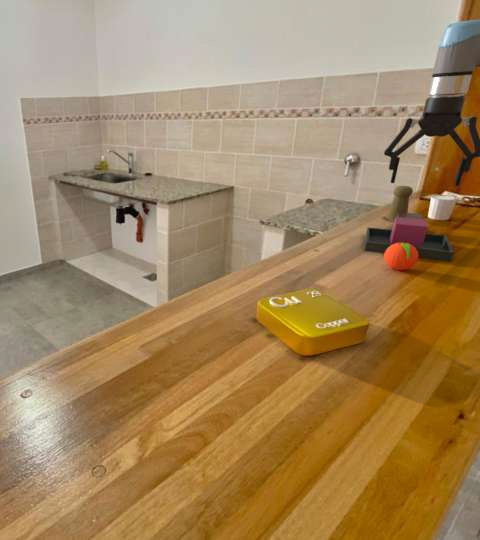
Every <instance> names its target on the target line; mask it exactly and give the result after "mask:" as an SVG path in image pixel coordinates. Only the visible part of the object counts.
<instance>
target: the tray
mask: <svg viewBox="0 0 480 540" xmlns="http://www.w3.org/2000/svg"><path fill="white" fill-rule="evenodd" d="M391 232H392V229H390V228H389V229H387V228H378V227H367V228H366V232H365V237H364V238H365V239H364V249H363V250H364V251H366V252H371V253H372V252H373V253H379V254H381V253H382V254H385V252H386V250H387V249H388V247H390V246H391V245H393V244H390V236H391ZM415 248H416V250H417V251H418V255H419V256H418V259H419V258H421V259H428V260H434V261H435V260H436V261H444V262H451V261H452V259H453V256H454V250H453V248H452V244H451V243H450V240H449V238H448V236H447V235H446V234H437V233H428V232H426V235H425V238H424V242H423V245H422V248H418V247H415Z"/></svg>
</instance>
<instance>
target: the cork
mask: <svg viewBox="0 0 480 540" xmlns="http://www.w3.org/2000/svg"><path fill="white" fill-rule="evenodd" d="M393 189H394V190H393V195H394V197H393V198H392V201H391V204H390V206H389V209H388V211H387V213H386V216H385V218H386V219H388V220H390V221H391V220H392V221H394V220H395V217H396V216H397V213H398V212H402V213H409V202H410V197H411V196H412V194H413V191H414V189H413V188H412V187H411V186H409V185H408V186H407V185H398V186H396V187H395V188H393Z"/></svg>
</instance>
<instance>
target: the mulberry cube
mask: <svg viewBox="0 0 480 540" xmlns="http://www.w3.org/2000/svg"><path fill="white" fill-rule="evenodd" d="M428 228H429V226H428V223H427V220H426V219H423V218H422V219H413V218H401V217H395V220H393V224H392V228H391V230H392V232H391V236H390V244H395V243H399V242H403V243H404V242H405V243H408V244H411V245H412V246H414V247H418V248H422V245H423V242H424V238H425V235H426V233H428V232H427V231H428Z"/></svg>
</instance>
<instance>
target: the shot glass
mask: <svg viewBox="0 0 480 540" xmlns="http://www.w3.org/2000/svg"><path fill="white" fill-rule="evenodd" d="M457 201H458V198H457V197H455V196H450V195H432V196H430V202H429V208H428V214H427V217H428V218H429V219H431V220H436V221H448V220H449V219H450V217H451V214H452V213H453V210H454V209H455V206H456V204H457Z"/></svg>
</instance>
